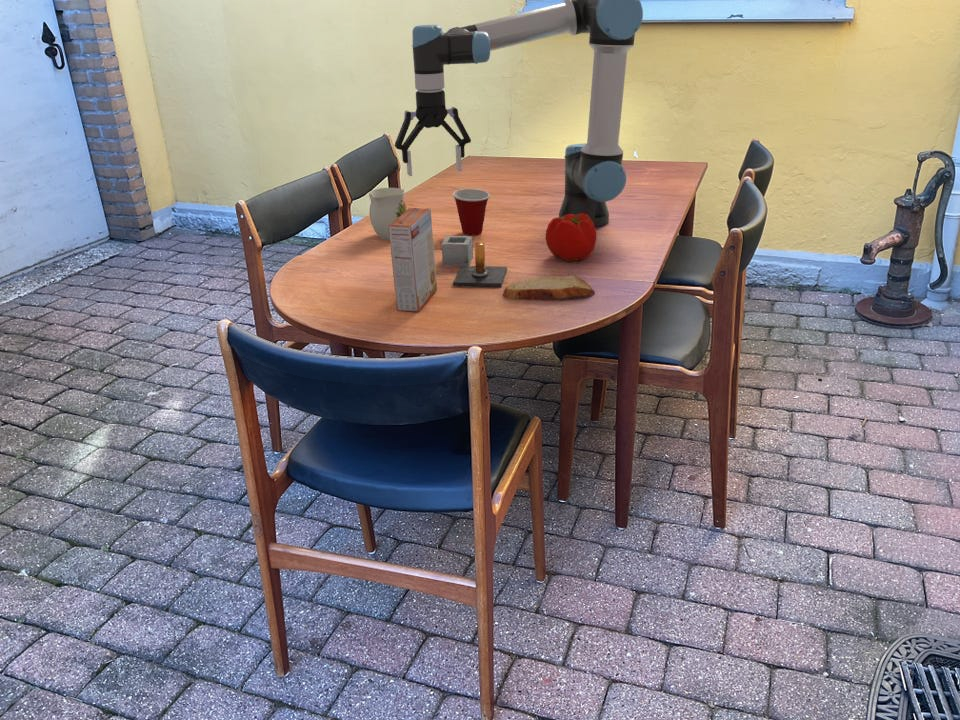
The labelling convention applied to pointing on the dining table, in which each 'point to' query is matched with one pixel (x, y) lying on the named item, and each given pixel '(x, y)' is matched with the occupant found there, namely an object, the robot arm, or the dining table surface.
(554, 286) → the bread slice
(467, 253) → the hollow gray block
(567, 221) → the tomato
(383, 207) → the pitcher
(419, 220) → the cracker box
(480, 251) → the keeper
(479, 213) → the plastic cup
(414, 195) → the dining table surface
